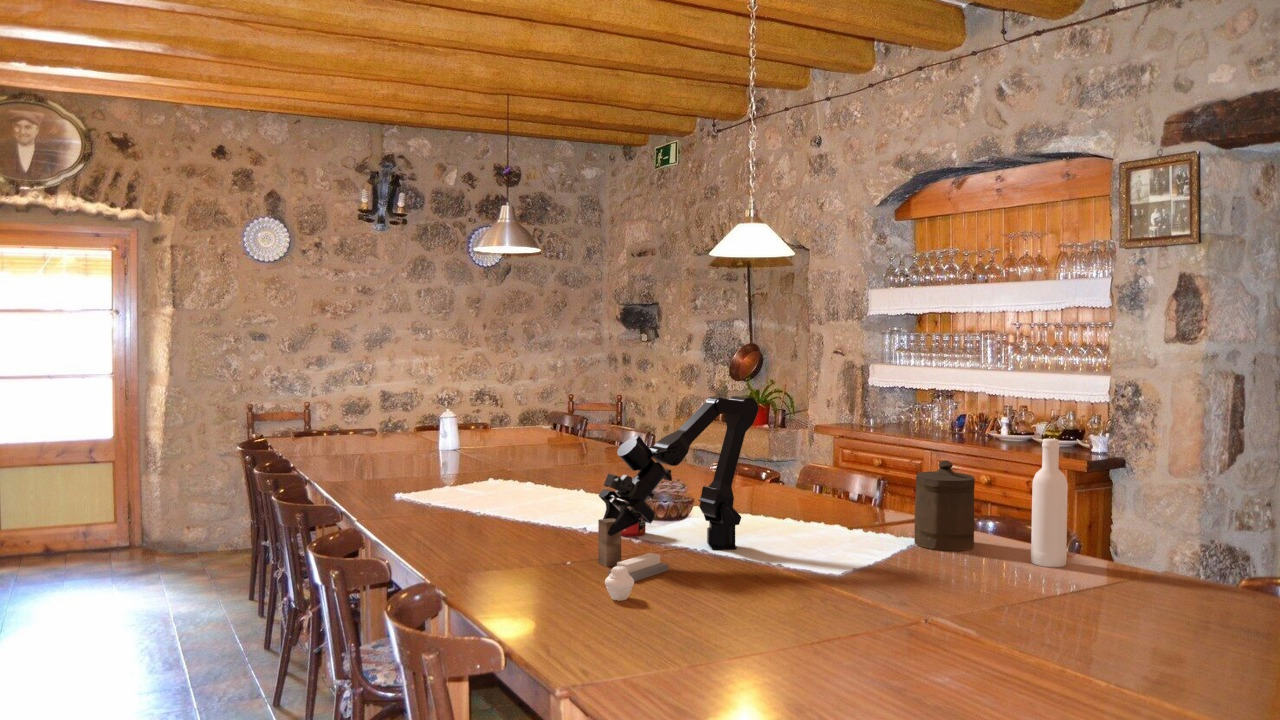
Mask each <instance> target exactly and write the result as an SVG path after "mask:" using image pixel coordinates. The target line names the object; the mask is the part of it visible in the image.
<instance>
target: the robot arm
mask: <svg viewBox="0 0 1280 720" xmlns="http://www.w3.org/2000/svg"><path fill="white" fill-rule="evenodd" d="M722 413H723V414H724V420H725V425H726V430H725V433H724V437H723V442H722V446H721V449H720V453H719V458H718V461H717V463H716V464H717V465H716V468H715V472H714V476H713V480H712V481H711V483H710V484H709V485H708V486H707V485H703V486H702V489H701V495H700V497H699V499H698V502H699V509H700V511H701V513H702V514H703V516H704V520H705V521H706V522H709V526H708V527H706V530H707V531H706V534H707V535H706V544H707V545H708V546H709V547H710V549H711V550H729V549H730V550H733V549H737V548H738V546H737V545H736V526H738V525H739V526H740V524H741V520H742V516H741V515H740V513H739V512H738V511H737V510H736V509H735V508H734V501H735V496H734V491H733V487H732V486H733V482H734V479H735V475H736V471H737V467H738V463H739V460H740V455H741V453H742V447H743V444H744V440H745V438H746V437H745V436H746V433H747V431H748V430H749V429H751V426H753V424H754V423H755V421H756V419H757V416H758V414H759V404H758V403H757V401H756V399H755V398H754V397H749V396H742V395H741V396H740V395H733V396H731V397H730V398H724V397H719V396H709V397H708V398H706V400H705V402H704V403H703V404H702V405H701V406H700V407H699V408H698V409H697V410H696V411H695V412H694V413H692V415H691V416H690V417H689V418H688V419H687V420H686V421H685V422H684V423H683V424H682V425H681V426H680V427H679V428H678V429H676V430H675V431H674V432H672V433H670V434H668V435H665V436H664V437H662V438H661V439H659V440H658V441H656V442H655V444H654V445H652V446H648V445H647V444H646V443H645V441H644V440H643V439H642V437H641V436H640V435H634V436H632V438H629V439H628V440H626V441H625V442H623V443H621V444H620V446H619V447H618V449H617V452H616V453H617V455H618V457H619V458H620V459H621V460H622V461H623V462H624V463H625V464H626V465H627V466H628V468H629V469H631V470H632V471H635V472H636V471H638V472H637V473H636V474H635V476H634V477H631V476H629V475H627V474H623V475H622V476H618V475H615V474H613V473H609V472H608V473H607V475H606V477H605V481H604V484H603V486H604V487H607V488H606V489H602V490H601V491H600V493H599V494H598V497H599V499H600V500H602V501H603V502H604V504H605V512H604V515H603V518H602V519H608V518H615V519H616V520H615V522H614V523H613V525H612V526H611V528H610V530H609V532H608V534H609V535H610V536H612V535H614V534H616V533H618V532H620V531H622V530H624V529H626V528H628V527H631V526H633V525H635V524H637V523H641V521H640V518H641V517H642V516H643V517H644V519H643V521H644V522H646V524H650V525H651V524H652V523H653V521H654V520H655V519H656V511H655V510H654V509H653V508H652V507H650V505H649V504H648V503H647V502H645V501H647V500H648V499H653V497H654V496H655V495H654V493H653V492H654V491H655V490H656V488H657V487H658V485H660V483H661V482H662V481H663V480H664V481H669V482H672V481H673V477H672V470H671V469H670V468H665V466H664V465H667V466H669V467H671V466H673V467H676V466H678V465H680V464H681V463H682V462H683V460H684V459H685V458H686V456H687V455H688V453H689V451H690V447H691V445H692V443H693V442H694V441H696V439H697V438H698V437H699V436H700V435H701V434H702V433H703V432H704V431H705V430H706V429H707V428H708V427H710V425H711V424H712V423H714V421H715V420H717V418H718V417H719V416H720V415H721V414H722ZM609 488H611V489H612V490H611V489H609ZM614 490H615V491H614ZM617 494H618V495H619V496H620V497H619V496H618V495H617Z"/></svg>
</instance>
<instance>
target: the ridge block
mask: <svg viewBox="0 0 1280 720" xmlns="http://www.w3.org/2000/svg"><path fill="white" fill-rule="evenodd" d="M616 566H623V567H625V568H627V570H628V573H629V575H630V576H631V577H632V578H633V579H634V583H635V582H638V581H641V580H644V579H647V578H649V577H653V576H656V575H659V574H662V573H665V572H668V571H669V564H668V563H664V562H661V554H658V553H654V552H647V553H644V554H642V555H637V556H635V557H632V558H628V559H625V560H621V562H618V563H617V565H616ZM611 570H612V569H609V570H608V575H609V574H610V573H611Z"/></svg>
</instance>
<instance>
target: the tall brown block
mask: <svg viewBox="0 0 1280 720" xmlns="http://www.w3.org/2000/svg"><path fill="white" fill-rule="evenodd" d="M615 520H616V519H615V518H608V519H603V518H600V519H598V523H597V524H598V532H597V533H598V535H597V536H598V551H597V552H598V564H600V565H602V566H604V567H606V568H608V567H616V566H617V563H618V562H621V561H622V536H621V531H620V532H618V533H616V534H614V535H612V536H610V535H609V534H608V532H609V530H610V528H611V526H612V525H613V523H614V522H615Z"/></svg>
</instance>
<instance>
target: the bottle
mask: <svg viewBox="0 0 1280 720" xmlns="http://www.w3.org/2000/svg"><path fill="white" fill-rule="evenodd" d="M1041 448H1042V455H1041V457H1042V459H1041V468H1040V469H1039V470H1038V471H1036V472H1035V474H1034V477H1033V479H1032V483H1031V484H1032V487H1031V488H1032V491H1031V492H1032V493H1031V537H1030V538H1031V540H1030V541H1031V542H1030V543H1031V544H1030V562H1031V564H1033V565H1035V566H1039V567H1043V568H1063V567H1065V566H1066V565H1067V556H1068V555H1067V554H1068V553H1067V541H1068V540H1067V537H1068V536H1067V535H1068V532H1067V531H1068V526H1067V525H1068V490H1069V489H1068V488H1069V486H1068V485H1069V484H1068V480H1067V478H1066V475H1065V474H1064V473H1063V471H1062V470H1060V468H1059V463H1060V461H1059V460H1060V459H1059V458H1060V456H1059V455H1060V440H1059V439H1057V438H1043V439H1042V443H1041Z"/></svg>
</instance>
